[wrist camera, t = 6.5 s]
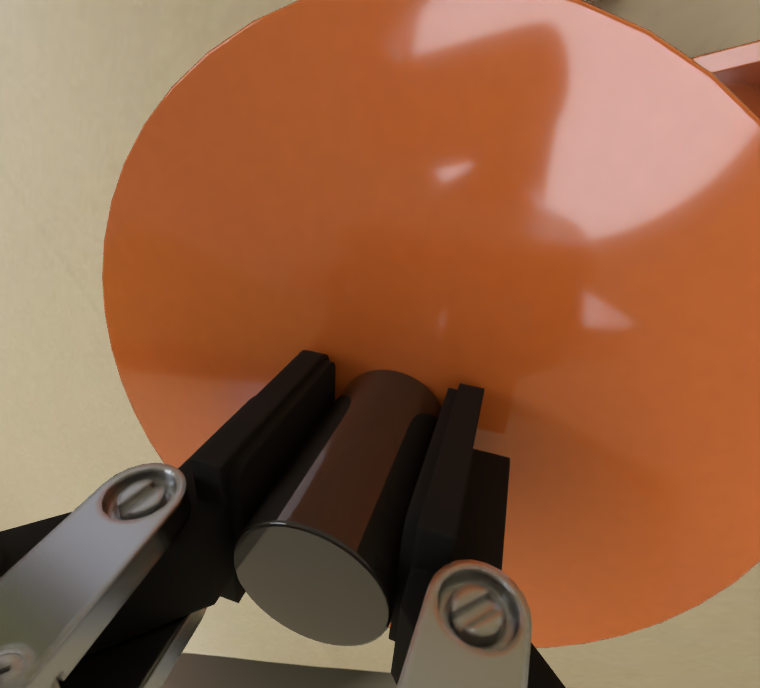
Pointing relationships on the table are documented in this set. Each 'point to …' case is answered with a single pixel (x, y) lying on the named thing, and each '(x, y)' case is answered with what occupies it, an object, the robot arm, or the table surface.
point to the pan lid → (458, 297)
